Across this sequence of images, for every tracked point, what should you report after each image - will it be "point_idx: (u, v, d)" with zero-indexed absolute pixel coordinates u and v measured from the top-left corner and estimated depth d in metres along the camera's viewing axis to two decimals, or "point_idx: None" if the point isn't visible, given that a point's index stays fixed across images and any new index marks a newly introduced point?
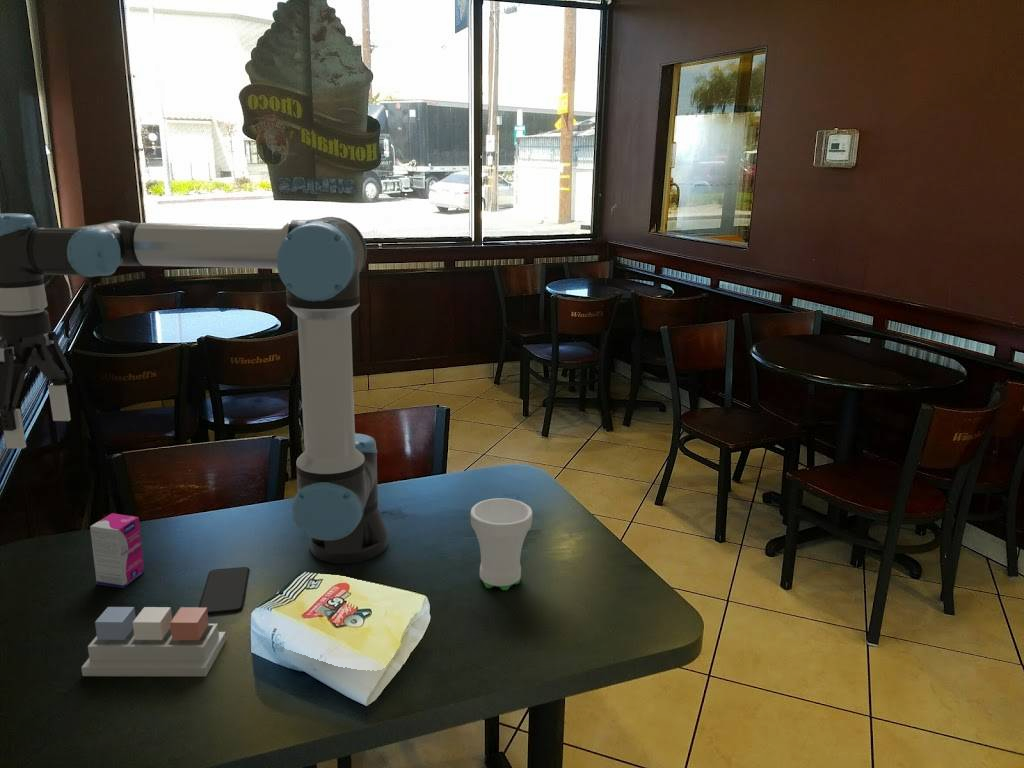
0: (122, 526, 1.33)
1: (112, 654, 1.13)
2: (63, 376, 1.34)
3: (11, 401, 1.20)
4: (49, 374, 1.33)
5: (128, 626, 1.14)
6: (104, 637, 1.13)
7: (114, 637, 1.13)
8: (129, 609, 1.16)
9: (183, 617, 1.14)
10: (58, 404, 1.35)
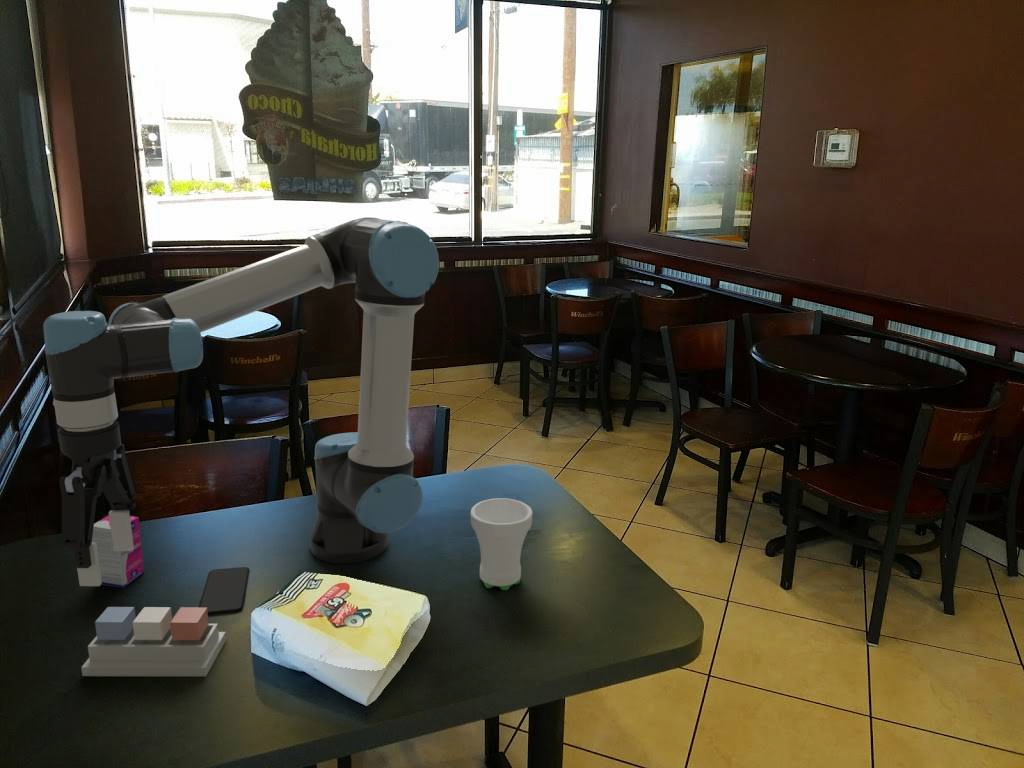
0: None
1: (112, 654, 1.13)
2: (127, 500, 1.15)
3: (86, 536, 1.04)
4: (112, 496, 1.14)
5: (128, 626, 1.14)
6: (104, 637, 1.13)
7: (114, 637, 1.13)
8: (129, 609, 1.16)
9: (183, 617, 1.14)
10: (120, 532, 1.16)
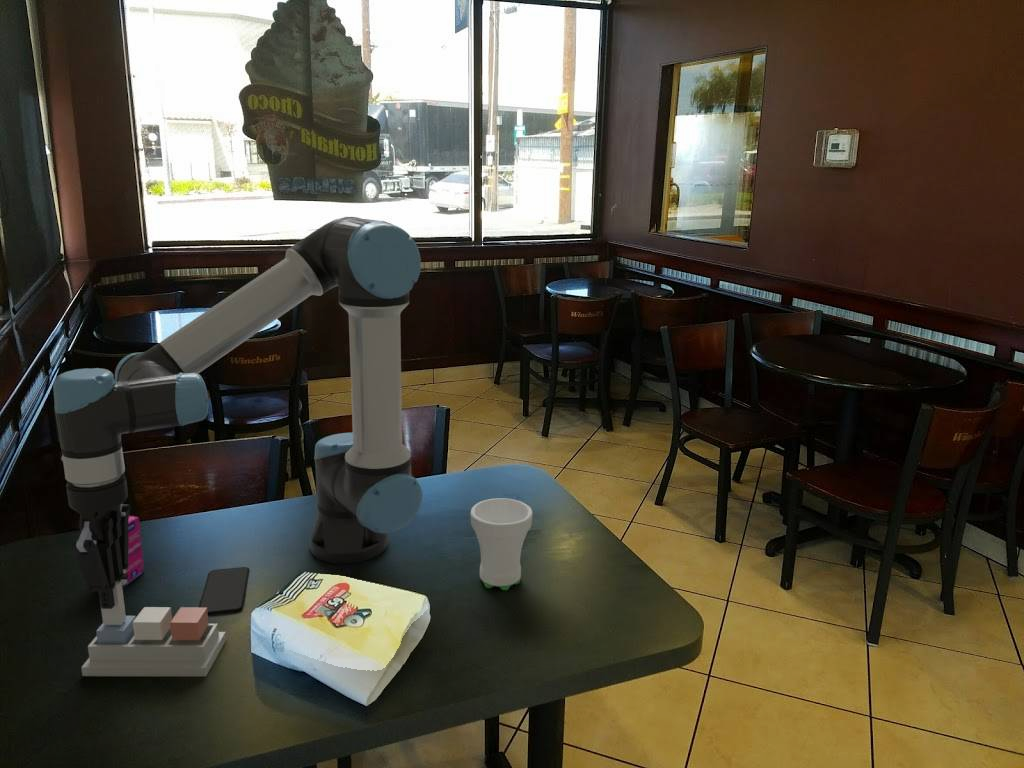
0: None
1: (112, 654, 1.13)
2: (121, 569, 1.14)
3: (109, 582, 1.11)
4: None
5: (129, 635, 1.15)
6: None
7: None
8: (130, 617, 1.16)
9: (183, 617, 1.14)
10: None
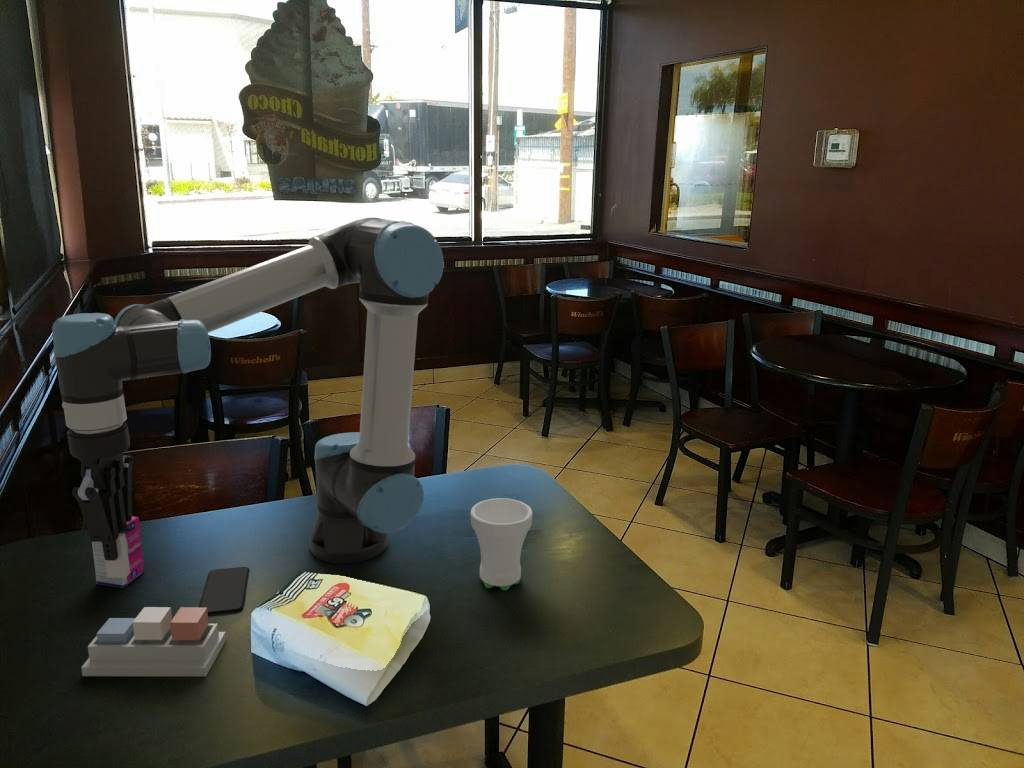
0: None
1: (112, 654, 1.13)
2: (124, 520, 1.12)
3: (112, 532, 1.09)
4: None
5: (129, 638, 1.15)
6: None
7: None
8: (131, 620, 1.16)
9: (183, 617, 1.14)
10: None
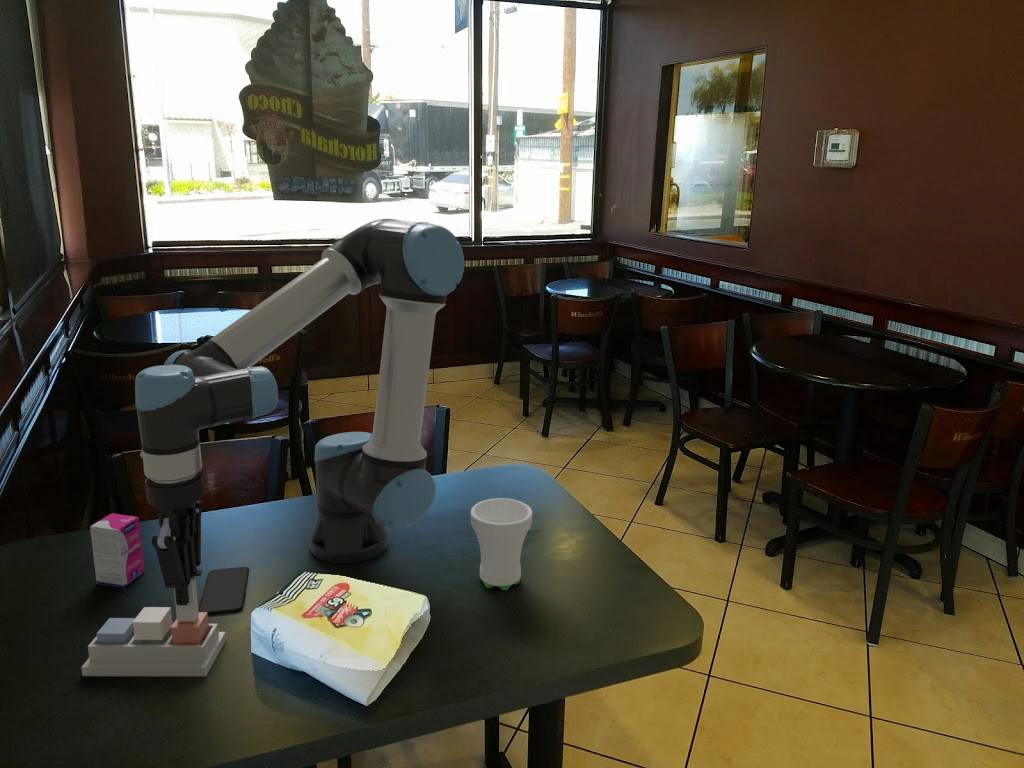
0: (122, 526, 1.33)
1: (112, 654, 1.13)
2: (195, 566, 1.14)
3: (185, 578, 1.11)
4: None
5: (129, 638, 1.15)
6: None
7: None
8: (131, 620, 1.16)
9: (183, 622, 1.14)
10: None
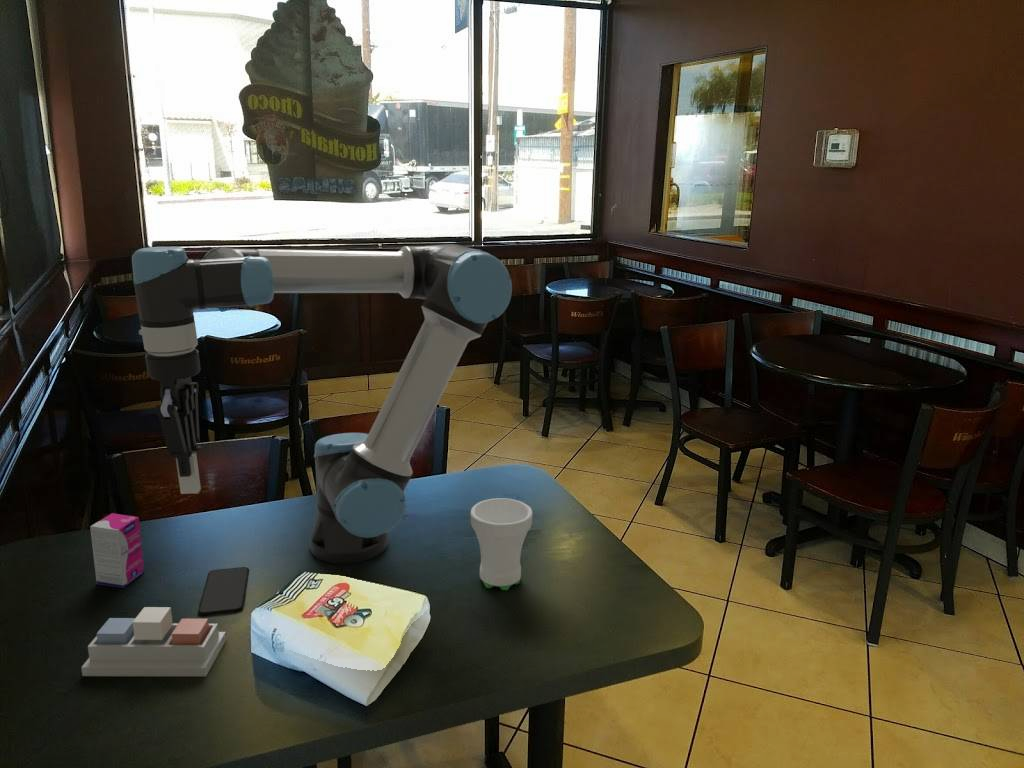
0: (122, 526, 1.33)
1: (112, 654, 1.13)
2: (195, 441, 1.22)
3: (187, 450, 1.19)
4: None
5: (129, 638, 1.15)
6: None
7: None
8: (131, 620, 1.16)
9: (184, 629, 1.15)
10: None
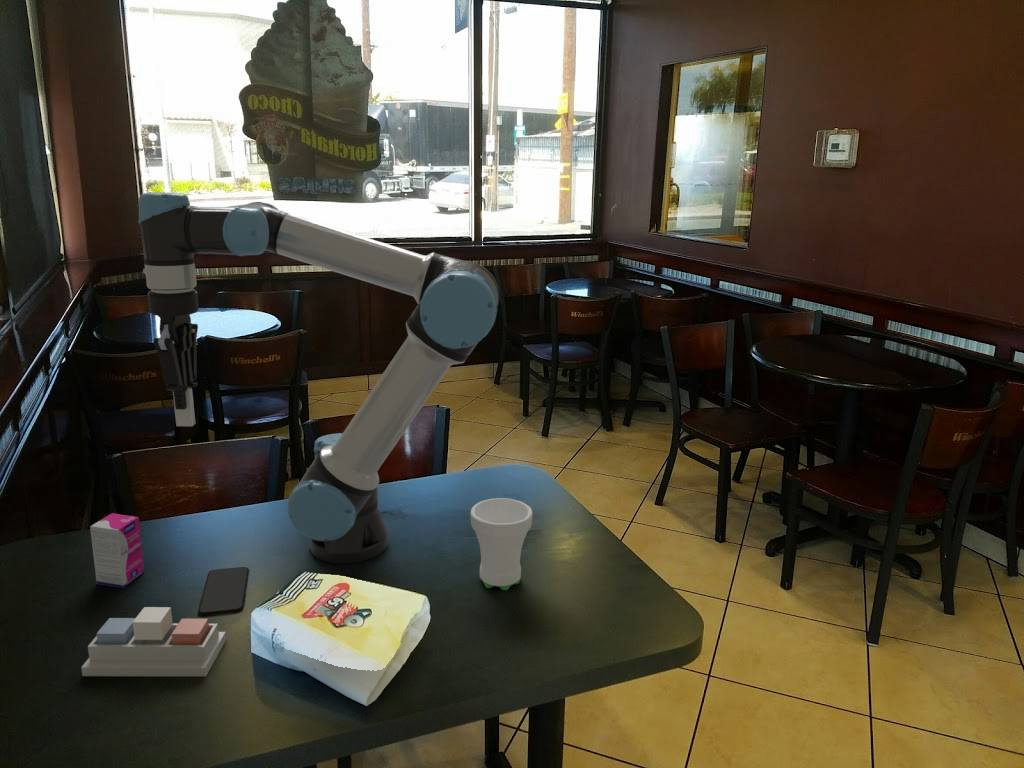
0: (122, 526, 1.33)
1: (112, 654, 1.13)
2: (191, 377, 1.31)
3: (183, 384, 1.27)
4: None
5: (129, 638, 1.15)
6: None
7: None
8: (131, 620, 1.16)
9: (184, 629, 1.15)
10: None
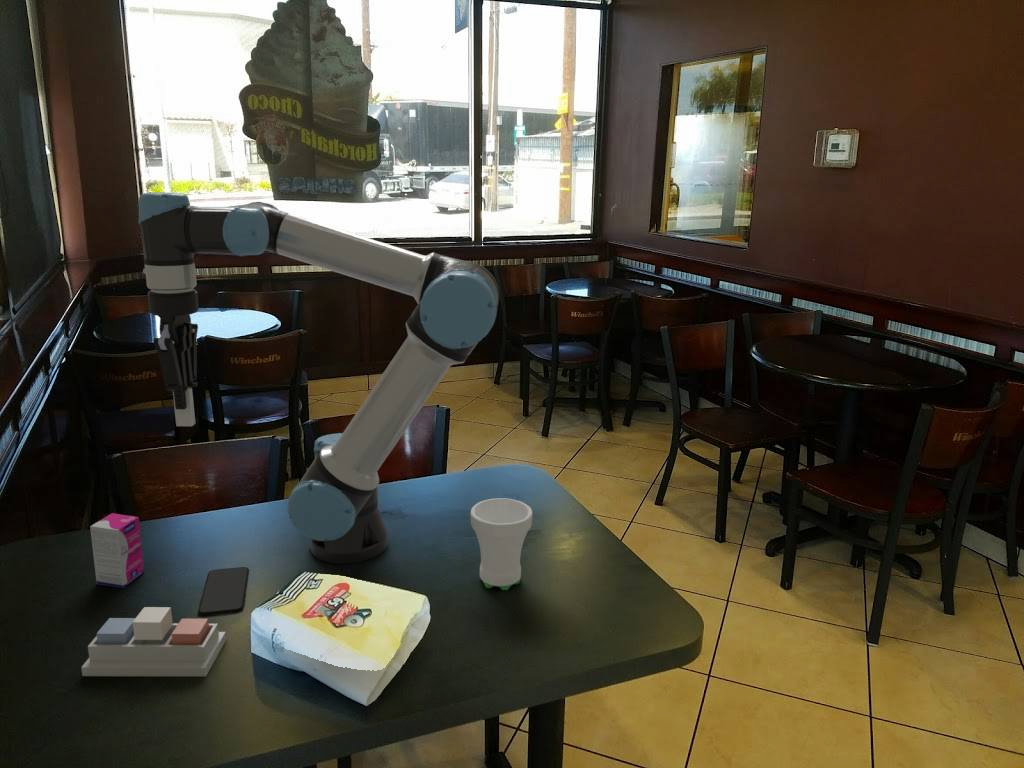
0: (122, 526, 1.33)
1: (112, 654, 1.13)
2: (191, 377, 1.31)
3: (183, 383, 1.27)
4: None
5: (129, 638, 1.15)
6: None
7: None
8: (131, 620, 1.16)
9: (184, 629, 1.15)
10: None
